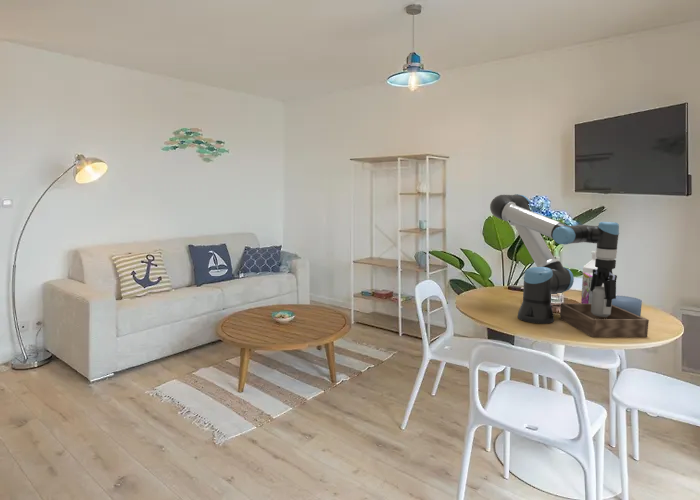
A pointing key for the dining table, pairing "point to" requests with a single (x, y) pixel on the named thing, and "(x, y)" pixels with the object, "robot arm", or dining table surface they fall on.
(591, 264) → the bottle
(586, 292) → the candy bar box
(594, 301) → the can
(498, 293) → the dining table surface
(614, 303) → the stand
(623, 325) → the crate
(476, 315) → the dining table surface
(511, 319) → the dining table surface
